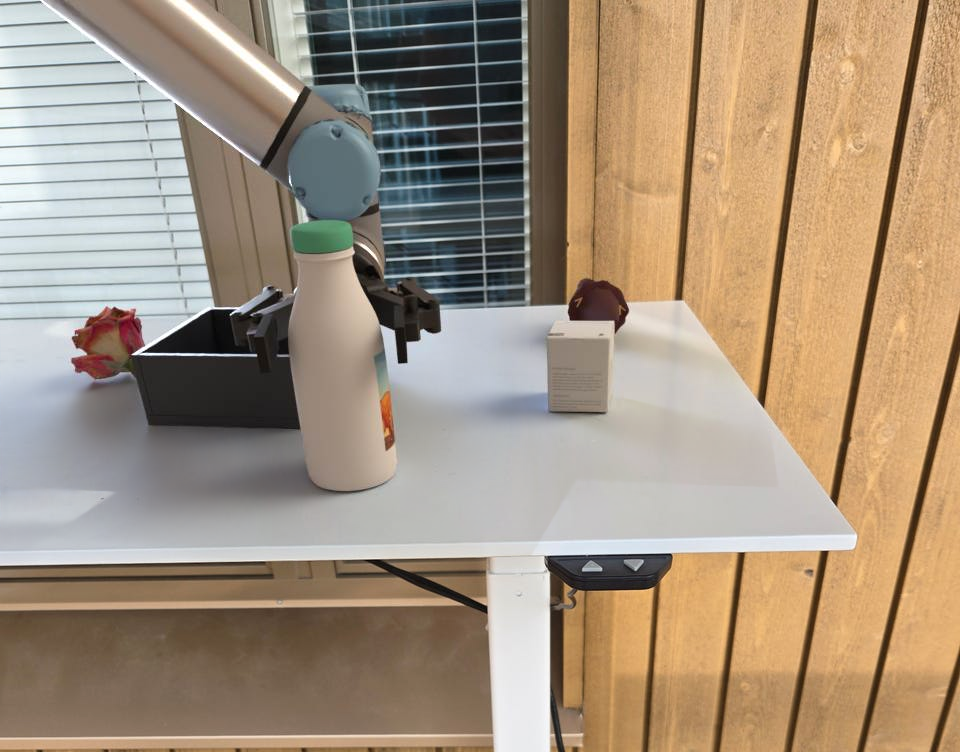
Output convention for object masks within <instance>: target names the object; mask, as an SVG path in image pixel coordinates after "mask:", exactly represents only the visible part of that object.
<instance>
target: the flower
mask: <svg viewBox="0 0 960 752" xmlns="http://www.w3.org/2000/svg"><path fill="white" fill-rule="evenodd" d="M136 312H137V308H134V307H133V308H131V309H130V310H129V309H120V308H117V307H116V306H113V307H112V308H111V307H109V306H105V307H104V309H102V311H101V312H100V313H99V314H98V315H95V316H89V317H88V319H87V320H86V322H85V325H84V326H83V328H79V329H75V330H74V335H72V336H71V341H72V342H73V345H74V347H75V349H76V350H77V351H78V350H79V349H80V350H82V351H83V352H84V353H85V354H86V355H80V356H75V357H71V358H70V363H71V364H72V365H73V366H74V372H75V373H76V374H78V373H79V374H81V373H83V372H84V373H86V374H88V375H89V376H90V377H91V378H92V379H94V381H96V380H102V379H104V380H105V379H109V378H113V377H114V378H115V377H116V376H118V375H119V374H120V373H130V374H131V375H132V376H133V378H134V379H136V376H135V372H134V368H133V365H132V361H131V357H130V355H132V354H133V353H135V352H136V351H138V350H140V349H141V348H143V347H145V346H146V344H145V341H144V338H143V332H142V331H143V325H142V320H141V318H139V317H138V316H136Z"/></svg>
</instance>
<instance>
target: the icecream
mask: <svg viewBox="0 0 960 752" xmlns="http://www.w3.org/2000/svg"><path fill="white" fill-rule="evenodd" d="M576 286H577V287H576V290H575V291H574V293H573V295H572V297H571V299H570V301H569V302H568V308H567V315H568V318H569V319H568V321H614V323H615V329H614V336H616V334H617V333H618V331H619V330H620V328H622V327H623V325H625V323H626V321H627V316H628V315H629V314H630V308H629V305H628V303H627V301H626V299H625V296H624V294H623V293H624V292H623V291H622V290H621V289H620V288H619V287H617V286H615V285H614V284H612V283H611V282H609V280H606V279H605V280H604V279H602V280H601V279H600V280H599V281H598V280H597V281H595V279H592V278H588V277H585V278H582V279H580V280H579V282H578V283H577V285H576Z"/></svg>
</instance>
